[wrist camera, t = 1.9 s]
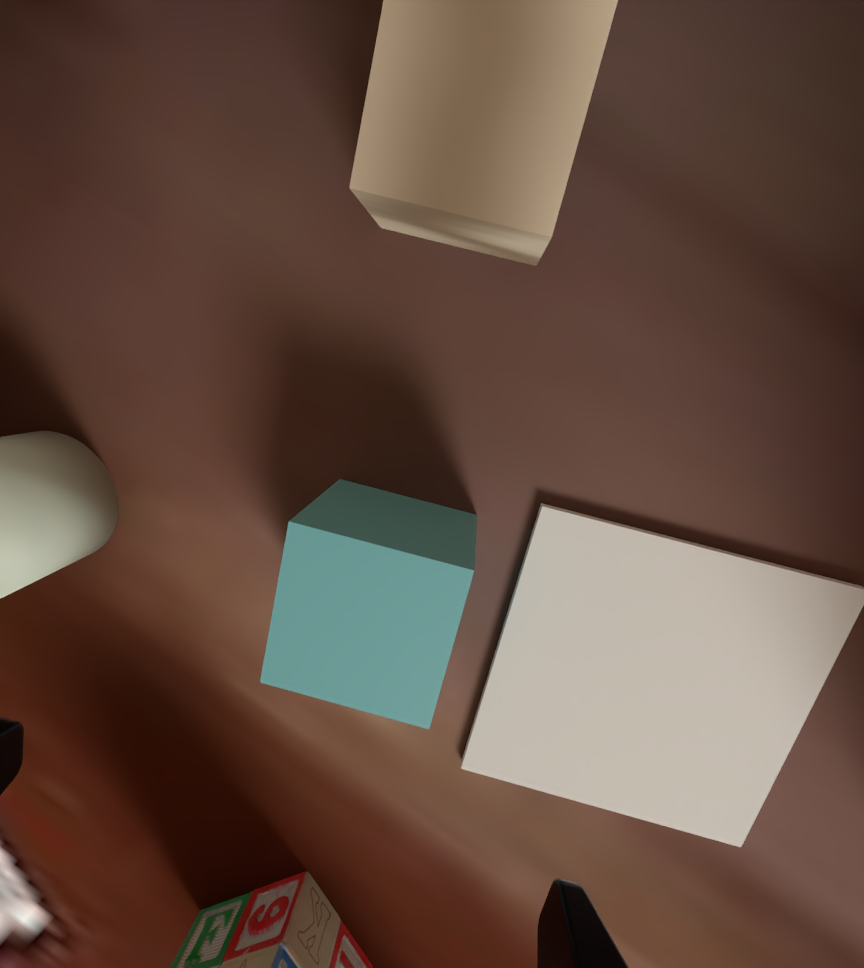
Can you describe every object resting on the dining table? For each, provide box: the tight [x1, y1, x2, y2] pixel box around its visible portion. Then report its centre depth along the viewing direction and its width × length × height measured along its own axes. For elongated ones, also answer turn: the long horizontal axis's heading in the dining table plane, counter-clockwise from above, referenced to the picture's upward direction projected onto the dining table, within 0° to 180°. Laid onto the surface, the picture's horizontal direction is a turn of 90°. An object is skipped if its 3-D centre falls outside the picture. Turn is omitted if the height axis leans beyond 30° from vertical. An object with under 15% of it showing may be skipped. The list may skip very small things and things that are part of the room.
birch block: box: [349, 0, 618, 266], centre depth 14 cm, size 5×5×4 cm
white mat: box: [461, 503, 864, 847], centre depth 19 cm, size 11×11×1 cm
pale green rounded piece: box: [0, 431, 119, 599], centre depth 18 cm, size 5×5×4 cm
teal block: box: [260, 479, 477, 729], centre depth 16 cm, size 5×5×5 cm
